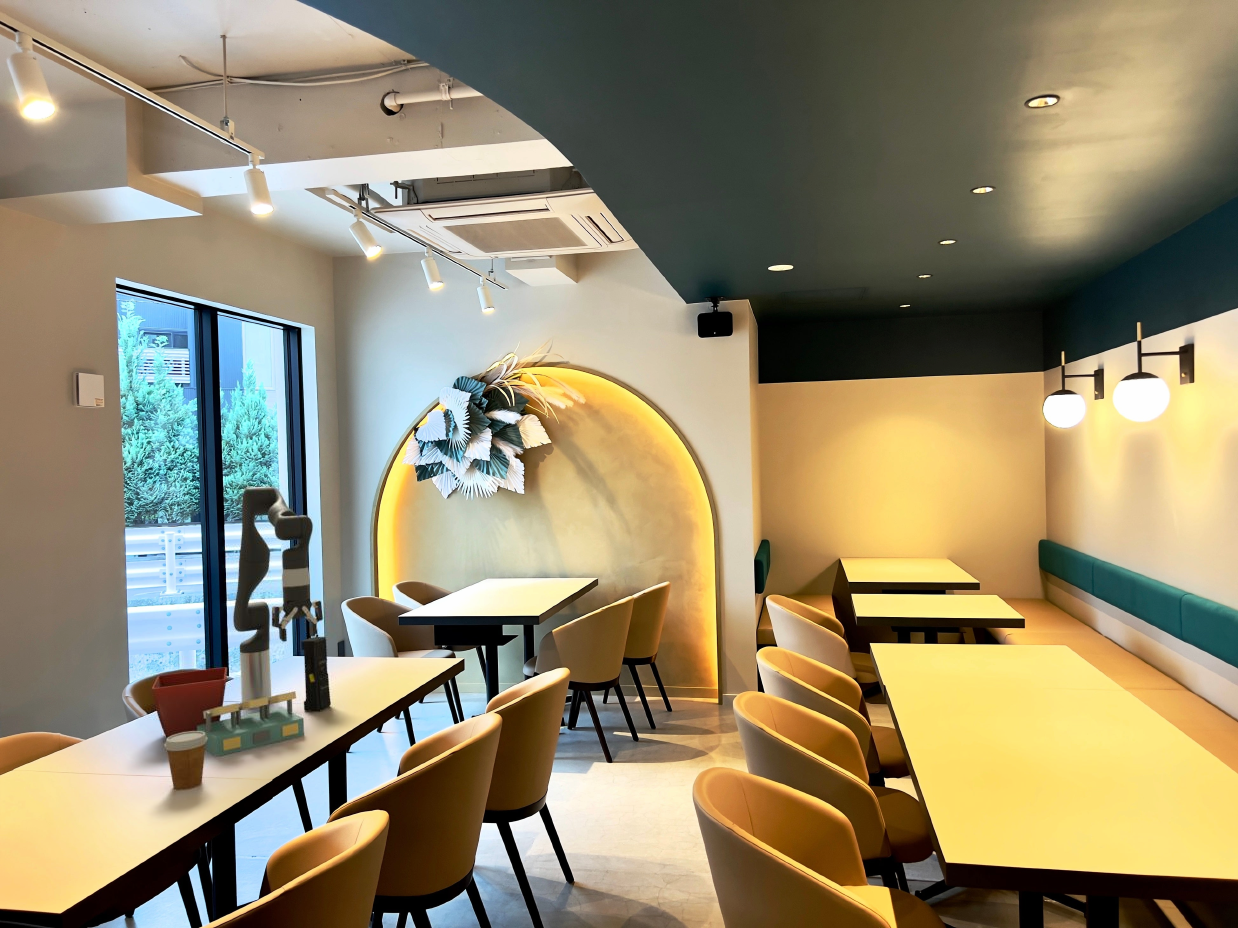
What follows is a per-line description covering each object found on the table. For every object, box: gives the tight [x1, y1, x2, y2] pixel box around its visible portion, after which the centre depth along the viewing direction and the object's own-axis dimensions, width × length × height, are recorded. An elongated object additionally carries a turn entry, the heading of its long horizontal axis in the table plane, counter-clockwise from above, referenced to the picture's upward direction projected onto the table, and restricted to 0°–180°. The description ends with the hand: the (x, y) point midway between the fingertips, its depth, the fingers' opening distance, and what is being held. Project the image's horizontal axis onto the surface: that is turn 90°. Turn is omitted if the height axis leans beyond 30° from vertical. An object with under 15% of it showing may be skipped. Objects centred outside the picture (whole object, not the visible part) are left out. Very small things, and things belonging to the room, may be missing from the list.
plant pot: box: [151, 666, 228, 739], centre depth 254 cm, size 19×19×17 cm
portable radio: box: [300, 632, 332, 713], centre depth 275 cm, size 8×6×25 cm
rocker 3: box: [267, 691, 297, 706], centre depth 252 cm, size 15×5×2 cm, turn 42°
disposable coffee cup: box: [163, 731, 208, 790], centre depth 211 cm, size 10×10×12 cm
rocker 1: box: [203, 702, 239, 718], centre depth 241 cm, size 15×5×2 cm, turn 42°
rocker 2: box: [238, 697, 268, 712], centre depth 246 cm, size 15×5×2 cm, turn 42°
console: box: [197, 699, 305, 757], centre depth 246 cm, size 17×24×10 cm
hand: (298, 638), depth 251 cm, fingers open, 8 cm apart
